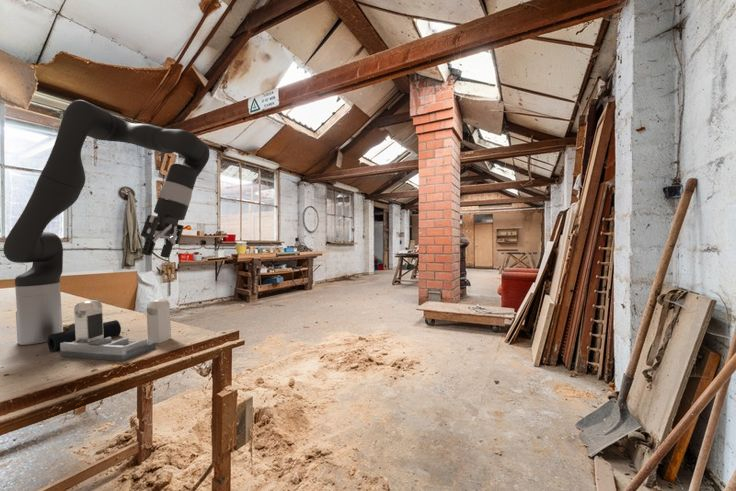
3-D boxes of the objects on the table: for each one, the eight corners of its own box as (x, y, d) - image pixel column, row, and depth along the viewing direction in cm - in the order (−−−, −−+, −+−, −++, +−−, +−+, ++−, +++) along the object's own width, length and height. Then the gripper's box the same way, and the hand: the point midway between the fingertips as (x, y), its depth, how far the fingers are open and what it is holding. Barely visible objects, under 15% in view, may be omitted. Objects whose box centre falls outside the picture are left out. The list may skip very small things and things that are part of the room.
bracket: (60, 356, 78) (58, 305, 78) (98, 344, 87) (96, 298, 86) (122, 361, 74) (119, 306, 73) (155, 347, 83) (153, 299, 82)
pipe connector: (36, 329, 86) (101, 316, 99) (37, 348, 86) (101, 332, 99) (55, 335, 81) (120, 320, 94) (56, 354, 81) (121, 337, 94)
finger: (147, 342, 87) (145, 301, 87) (159, 337, 91) (157, 298, 91) (159, 343, 87) (157, 301, 86) (171, 338, 90) (169, 299, 90)
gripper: (173, 204, 92) (157, 255, 90) (144, 190, 78) (123, 250, 76) (198, 210, 93) (182, 261, 91) (174, 197, 79) (154, 257, 76)
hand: (155, 256), depth 83 cm, fingers open, 8 cm apart
